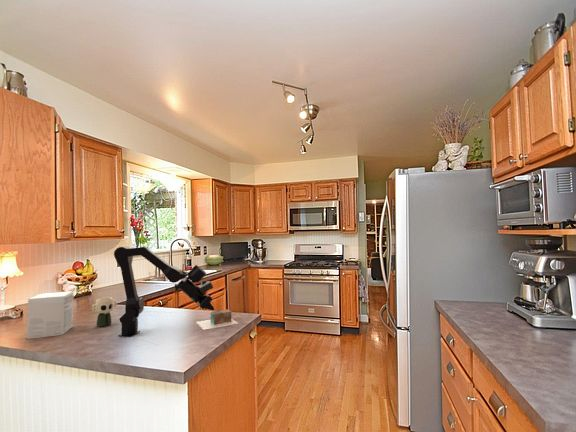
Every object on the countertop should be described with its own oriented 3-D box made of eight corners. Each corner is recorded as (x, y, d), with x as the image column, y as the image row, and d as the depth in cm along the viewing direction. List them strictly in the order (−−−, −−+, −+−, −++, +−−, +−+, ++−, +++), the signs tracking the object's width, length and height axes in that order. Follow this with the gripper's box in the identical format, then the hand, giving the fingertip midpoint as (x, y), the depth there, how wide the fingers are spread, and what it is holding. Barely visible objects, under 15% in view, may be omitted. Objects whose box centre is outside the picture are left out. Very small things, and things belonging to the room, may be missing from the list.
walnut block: (213, 314, 136) (231, 311, 141) (210, 311, 140) (228, 309, 145) (213, 324, 136) (231, 321, 140) (210, 322, 140) (228, 319, 145)
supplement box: (73, 326, 139) (74, 290, 140) (62, 335, 127) (64, 295, 128) (39, 330, 134) (41, 293, 135) (25, 339, 122) (27, 298, 123)
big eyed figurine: (94, 329, 133) (95, 302, 134) (88, 327, 137) (89, 300, 138) (119, 323, 142) (119, 297, 143) (112, 321, 146) (113, 296, 147)
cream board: (203, 331, 129) (203, 329, 129) (196, 323, 141) (196, 322, 141) (238, 324, 138) (238, 323, 138) (228, 317, 150) (228, 316, 150)
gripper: (207, 278, 129) (231, 299, 134) (198, 274, 145) (219, 293, 150) (190, 298, 125) (214, 319, 129) (181, 291, 140) (204, 310, 145)
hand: (213, 309), depth 139 cm, fingers closed
